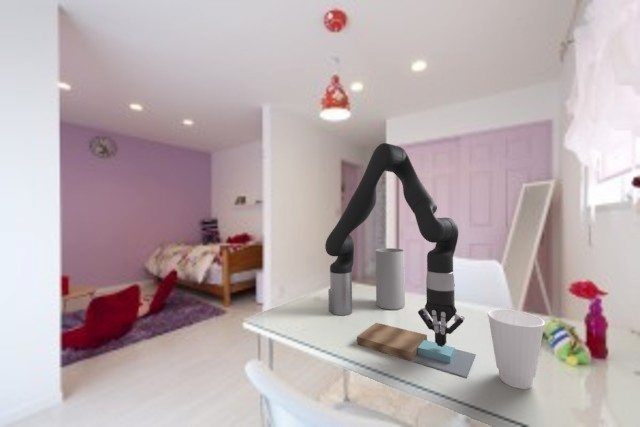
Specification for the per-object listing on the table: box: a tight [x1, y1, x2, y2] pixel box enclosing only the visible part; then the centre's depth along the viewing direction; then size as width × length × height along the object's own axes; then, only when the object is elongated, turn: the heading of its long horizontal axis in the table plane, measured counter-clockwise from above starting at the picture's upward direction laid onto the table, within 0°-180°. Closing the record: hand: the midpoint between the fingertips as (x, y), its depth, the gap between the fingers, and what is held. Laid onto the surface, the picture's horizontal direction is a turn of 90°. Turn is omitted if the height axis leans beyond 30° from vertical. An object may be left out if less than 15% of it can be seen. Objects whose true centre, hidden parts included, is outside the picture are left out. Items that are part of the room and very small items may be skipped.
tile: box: [418, 339, 456, 363], centre depth 84 cm, size 9×6×2 cm, turn 53°
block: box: [356, 322, 428, 362], centre depth 92 cm, size 18×14×2 cm
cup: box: [487, 308, 546, 390], centre depth 72 cm, size 12×12×16 cm
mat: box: [411, 348, 477, 379], centre depth 83 cm, size 14×14×1 cm
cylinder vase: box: [375, 247, 406, 311], centre depth 128 cm, size 12×12×25 cm
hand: (440, 345), depth 83 cm, fingers closed
